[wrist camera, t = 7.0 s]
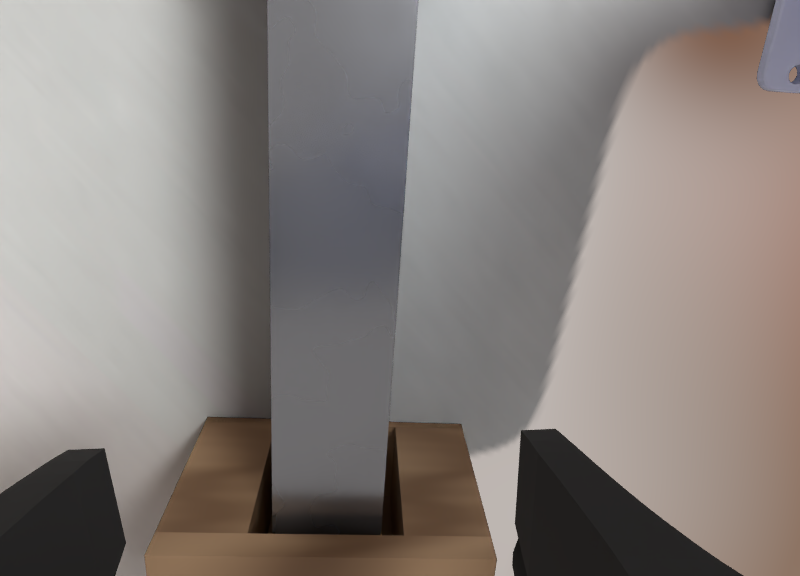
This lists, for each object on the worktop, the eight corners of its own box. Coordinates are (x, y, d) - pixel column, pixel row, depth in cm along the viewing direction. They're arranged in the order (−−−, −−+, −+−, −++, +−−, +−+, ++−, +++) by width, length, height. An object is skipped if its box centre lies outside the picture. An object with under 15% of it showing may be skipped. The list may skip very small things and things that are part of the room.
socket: (461, 424, 21) (497, 559, 15) (450, 512, 23) (479, 668, 17) (207, 416, 21) (144, 555, 15) (212, 508, 22) (156, 669, 16)
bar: (414, -102, 15) (433, -170, 11) (377, 477, 21) (379, 580, 17) (292, -114, 15) (262, -187, 11) (290, 475, 21) (270, 579, 17)
